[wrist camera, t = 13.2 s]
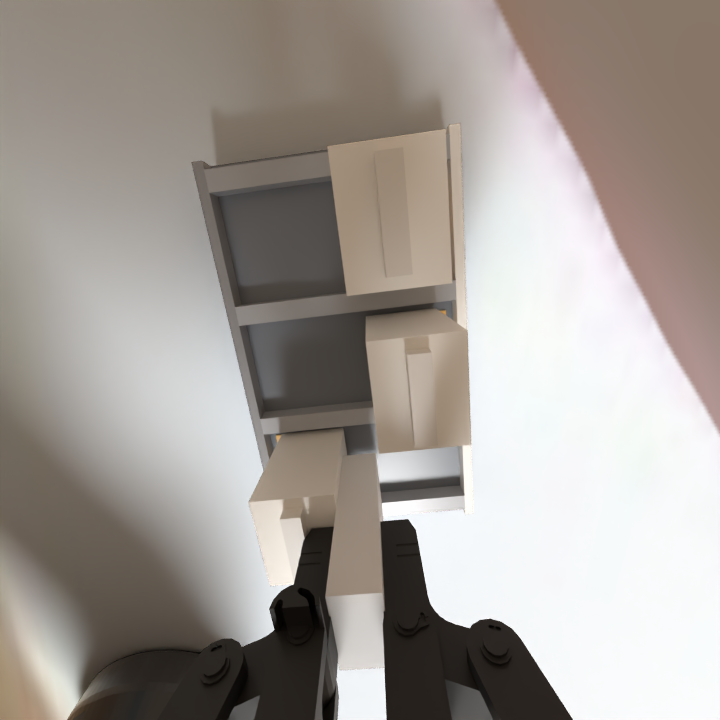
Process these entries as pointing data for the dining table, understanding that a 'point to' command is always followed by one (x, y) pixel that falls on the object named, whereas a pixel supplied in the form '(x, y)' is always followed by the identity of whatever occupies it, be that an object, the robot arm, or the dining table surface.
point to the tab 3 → (418, 380)
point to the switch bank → (321, 316)
